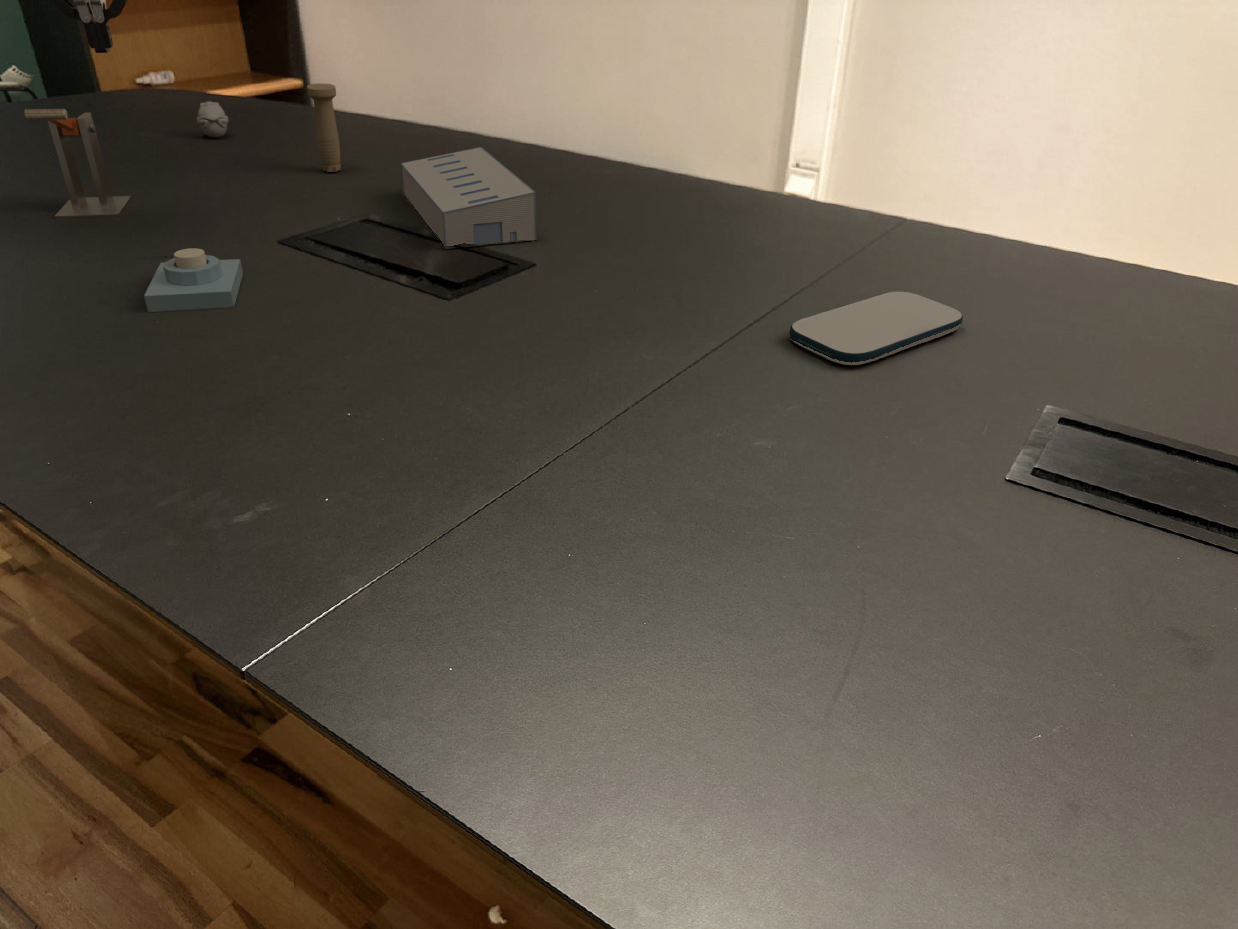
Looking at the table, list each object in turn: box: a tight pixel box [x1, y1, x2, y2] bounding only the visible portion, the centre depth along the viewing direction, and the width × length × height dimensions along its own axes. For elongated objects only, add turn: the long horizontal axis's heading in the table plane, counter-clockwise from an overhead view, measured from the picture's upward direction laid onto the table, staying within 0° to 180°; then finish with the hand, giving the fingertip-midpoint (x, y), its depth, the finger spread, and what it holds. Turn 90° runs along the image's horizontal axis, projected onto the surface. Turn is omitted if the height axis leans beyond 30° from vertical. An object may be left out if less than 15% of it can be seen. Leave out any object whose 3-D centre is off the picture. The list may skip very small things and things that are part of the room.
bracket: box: [47, 112, 132, 220], centre depth 140 cm, size 10×9×15 cm
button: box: [173, 247, 207, 269], centre depth 115 cm, size 4×4×2 cm
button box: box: [143, 254, 244, 313], centre depth 116 cm, size 12×10×4 cm
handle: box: [306, 83, 342, 173], centre depth 166 cm, size 5×6×15 cm
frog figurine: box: [196, 100, 229, 139], centre depth 188 cm, size 6×7×7 cm
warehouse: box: [400, 146, 538, 246], centre depth 146 cm, size 30×14×8 cm, turn 23°
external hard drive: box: [788, 290, 964, 363], centre depth 113 cm, size 24×12×2 cm, turn 127°
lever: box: [23, 108, 82, 139], centre depth 132 cm, size 13×5×2 cm, turn 15°
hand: (103, 51), depth 125 cm, fingers closed
